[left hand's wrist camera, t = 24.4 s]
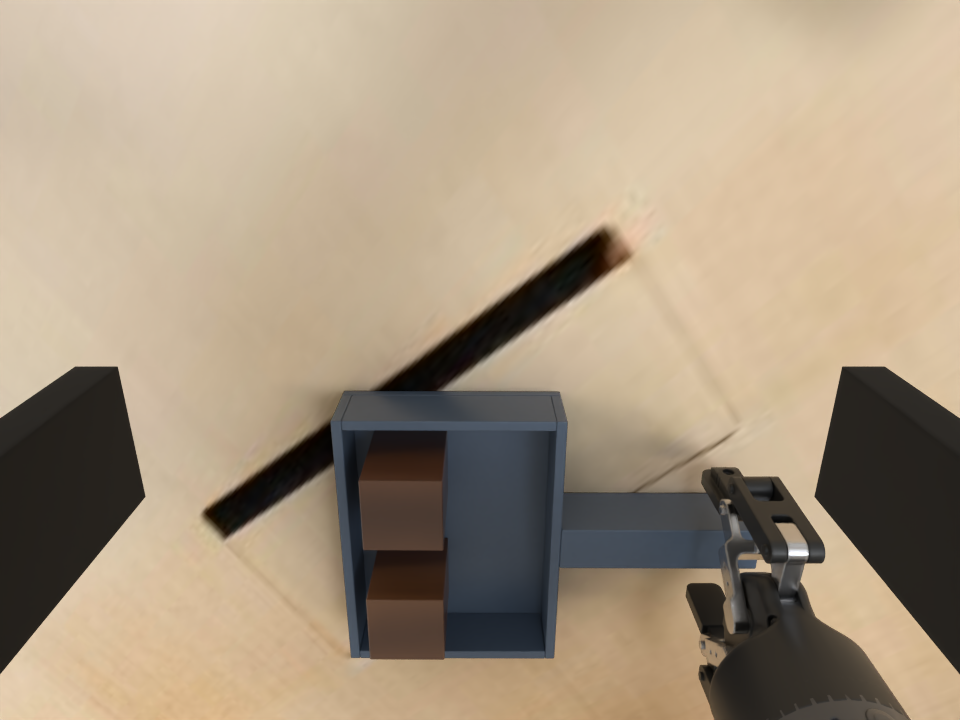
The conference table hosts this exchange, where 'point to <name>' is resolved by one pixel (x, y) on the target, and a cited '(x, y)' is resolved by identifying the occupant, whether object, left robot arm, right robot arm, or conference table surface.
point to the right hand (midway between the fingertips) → (709, 533)
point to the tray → (510, 516)
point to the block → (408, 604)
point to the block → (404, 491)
